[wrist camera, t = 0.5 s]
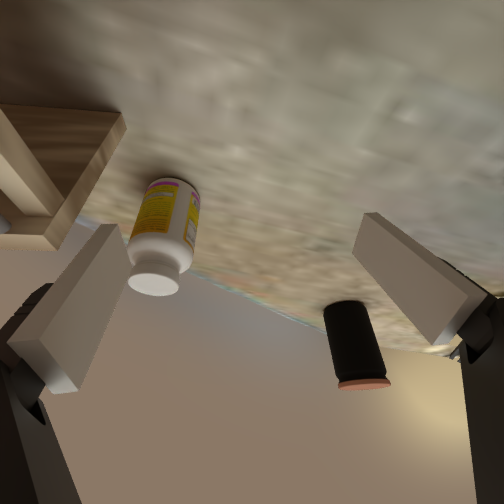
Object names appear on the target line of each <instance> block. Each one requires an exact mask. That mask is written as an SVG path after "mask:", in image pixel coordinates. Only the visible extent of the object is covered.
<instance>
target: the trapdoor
mask: <svg viewBox="0 0 504 504" xmlns="http://www.w3.org/2000/svg"><path fill="white" fill-rule="evenodd" d="M11 227H12V224H11V223H10V222H9V221H8V220H7V219H6V218H5V217H4V216H3V215H2V214H1V213H0V234H3V233H5V232H7V231H8V230H10V228H11Z"/></svg>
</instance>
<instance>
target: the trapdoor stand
mask: <svg viewBox="0 0 504 504" xmlns="http://www.w3.org/2000/svg"><path fill="white" fill-rule="evenodd" d="M125 131H126V126H125V123H124V120H123V117H122V114H121V113H113V112H100V111H87V110H75V109H62V108H50V107H37V106H24V105H12V104H0V213H1V214H2V215H3V216H4V217H5V218H6V219H7V220H8V221H9V222H10V223H11V224H12V227H11V228H10V230H8V231H7V232H5V233H3V234H0V249H8V250H41V251H42V250H44V251H58V249H59V247H60V246H61V244H62V242H63V240H64V239H65V237H66V235H67V233H68V232H69V230H70V228H71V226H72V225H73V223H74V221H75V219H76V218H77V216H78V214H79V212H80V211H81V209H82V207H83V205H84V204H85V202H86V200H87V198H88V196H89V195H90V193H91V191H92V189H93V188H94V186H95V184H96V182H97V181H98V179H99V177H100V175H101V174H102V172H103V170H104V168H105V166H106V165H107V163H108V161H109V159H110V158H111V156H112V154H113V152H114V151H115V149H116V147H117V145H118V144H119V142H120V140H121V138H122V136H123V135H124V133H125Z"/></svg>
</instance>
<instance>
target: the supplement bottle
mask: <svg viewBox="0 0 504 504" xmlns="http://www.w3.org/2000/svg"><path fill="white" fill-rule="evenodd" d="M199 211H200V199H199V196H198V194H197V192H196V191H195V190H194V188H192V187H191V186H190V185H189V184H187V183H185V182H183V181H181V180H179V179H175V178H161V179H158V180H156V181H154V182H152V183H151V184H150V185H149V187H148V188H147V191H146V193H145V196H144V199H143V202H142V205H141V207H140V210H139V213H138V216H137V219H136V222H135V225H134V228H133V231H132V234H131V237H130V240H129V243H128V246H127V253H128V256H129V259H130V262H131V263H132V264H133V265H134V267H133V268H132V270H131V272H130V275H129V278H128V283H129V285H130V286H131V287H132V288H133V289H135V290H136V291H138V292H141V293H144V294H148V295H154V296H166V295H171V294H173V293H175V292H176V291H177V290H178V288H179V283H180V279H181V278H180V273H183V272H184V271H186V270H187V269H188V268H189V267H190V265H191V263H192V260H193V254H194V246H195V239H196V232H197V225H198V218H199Z"/></svg>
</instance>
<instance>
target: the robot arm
mask: <svg viewBox="0 0 504 504" xmlns="http://www.w3.org/2000/svg"><path fill="white" fill-rule="evenodd" d="M352 254H353V255H354V256H355V257H356V258H357V260H358V261H359V262H360V263H361V264H362V265H363V267H364V268H365V269H366V270H367V271H368V272H369V273H370V275H371V276H372V277H373V278H374V279H375V280H376V282H377V283H378V284H379V285H380V286H381V287H382V288H383V290H384V291H385V292H386V293H387V294H388V295H389V297H390V298H391V299H392V300H393V301H394V302H395V303H396V305H397V306H398V307H399V308H400V309H401V310H402V312H403V313H404V314H405V315H406V316H407V317H408V318H409V320H410V321H411V322H412V323H413V324H414V325H415V327H416V328H417V329H418V330H419V331H420V332H421V334H422V335H423V336H424V337H425V338H426V339H427V340H428V342H429V343H430V344H431V345H440V344H447V343H449V342H450V341H451V340H452V339H453V337H454V336H455V335H456V334H458V335H459V336H460V337H461V338H462V339H463V340H462V341H461V342H460V344H459V345H458V346H457V347H456V348H455V350H454V351H453V352H452V353H451V354H450V359H454V357H455V356H456V355H460V359H459V360H458V362H459V363H461V369H462V378H463V387H464V395H465V404H466V412H467V421H468V429H469V438H470V447H471V455H472V463H473V472H474V481H475V489H476V498H477V504H504V298H499V299H497V298H496V297H495V296H493V295H492V294H490V293H489V292H488V291H486V290H485V289H484V288H482V287H481V286H479V285H478V284H477V283H475V282H474V281H473V280H471V279H470V278H468V277H467V276H464V274H463V273H462V272H460V271H459V270H456V268H455V267H453V266H452V265H451V264H449V263H448V262H447V261H445V260H443V259H441V258H439V257H437V256H435V255H434V254H433V253H431V252H430V251H429V250H427V249H426V248H424V247H423V246H422V245H420V244H419V243H418V242H416V241H415V240H414V239H412V238H411V237H410V236H408V235H407V234H405V233H404V232H403V231H401V230H400V229H399V228H397V227H396V226H395V225H393V224H392V223H391V222H389V221H388V220H387V219H385V218H384V217H382V216H381V215H380V214H378V213H377V212H374V213H364V216H363V219H362V222H361V226H360V229H359V232H358V235H357V238H356V241H355V245H354V248H353V251H352ZM131 270H132V265H131V262H130V259H129V256H128V253H127V250H126V247H125V244H124V241H123V238H122V235H121V232H120V229H119V225H118V224H101V225H100V226H99V228H98V229H97V230H96V231H95V233H94V234H93V235H92V237H91V238H90V239H89V240H88V241H87V243H86V244H85V245H84V247H83V248H82V249H81V250H80V252H79V253H78V254H77V255H76V256H75V258H74V259H73V260H72V262H71V263H70V264H69V265H68V267H67V268H66V269H65V270H64V271H63V273H62V274H61V275H60V276H59V278H58V279H57V280H56V281H55V283H46V284H45V285H43V286H42V287H40V288H39V289H37V290H36V291H35V292H33V293H32V294H31V295H30V296H29V298H28V299H26V301H25V302H24V303H23V304H22V307H20V308H19V309H18V310H17V311H16V312H15V313H14V316H12V317H11V318H10V319H9V320H8V321H7V323H6V324H5V325H4V326H3V327H2V328H1V329H0V504H82V503H81V500H80V498H79V495H78V493H77V490H76V488H75V485H74V482H73V480H72V477H71V474H70V472H69V469H68V467H67V464H66V461H65V459H64V456H63V454H62V451H61V448H60V446H59V443H58V440H57V438H56V435H55V433H54V430H53V428H52V425H51V422H50V420H49V417H48V414H47V412H46V409H45V407H44V404H43V402H42V401H41V400H40V399H39V398H38V397H39V395H40V393H41V392H42V390H43V388H44V386H45V385H46V387H47V388H48V389H49V390H50V391H51V392H52V393H53V394H60V393H67V392H75V391H79V390H80V388H81V385H82V383H83V381H84V378H85V376H86V374H87V371H88V369H89V367H90V364H91V362H92V360H93V358H94V355H95V353H96V351H97V348H98V346H99V344H100V341H101V339H102V337H103V334H104V332H105V330H106V328H107V325H108V323H109V321H110V318H111V316H112V314H113V311H114V309H115V307H116V304H117V302H118V300H119V297H120V295H121V293H122V291H123V288H124V286H125V283H126V281H127V279H128V277H129V274H130V272H131Z"/></svg>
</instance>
